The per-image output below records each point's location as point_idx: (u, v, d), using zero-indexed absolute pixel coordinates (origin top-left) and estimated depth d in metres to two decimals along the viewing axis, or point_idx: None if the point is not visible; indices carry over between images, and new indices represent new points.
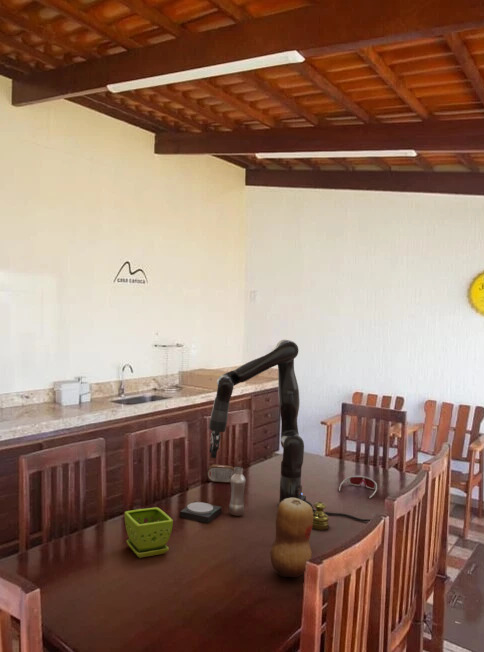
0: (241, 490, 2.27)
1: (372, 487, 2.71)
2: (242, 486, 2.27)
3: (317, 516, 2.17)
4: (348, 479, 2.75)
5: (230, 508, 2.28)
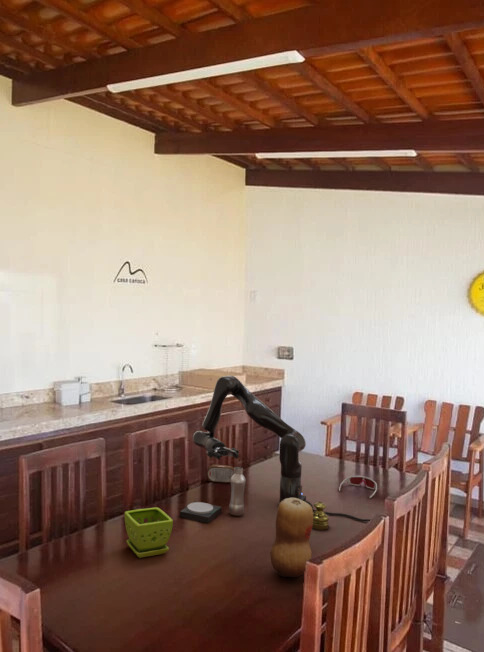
0: (241, 490, 2.27)
1: (372, 487, 2.71)
2: (242, 486, 2.27)
3: (317, 516, 2.17)
4: (348, 479, 2.75)
5: (230, 508, 2.28)
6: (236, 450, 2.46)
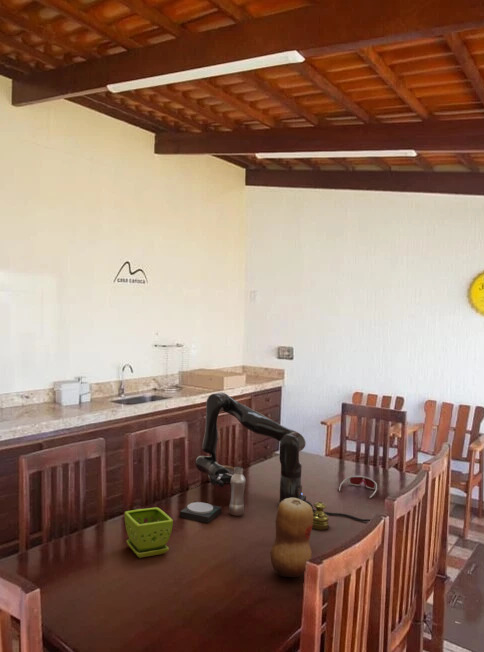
0: (241, 490, 2.27)
1: (372, 487, 2.71)
2: (242, 486, 2.27)
3: (317, 516, 2.17)
4: (348, 479, 2.75)
5: (230, 508, 2.28)
6: None
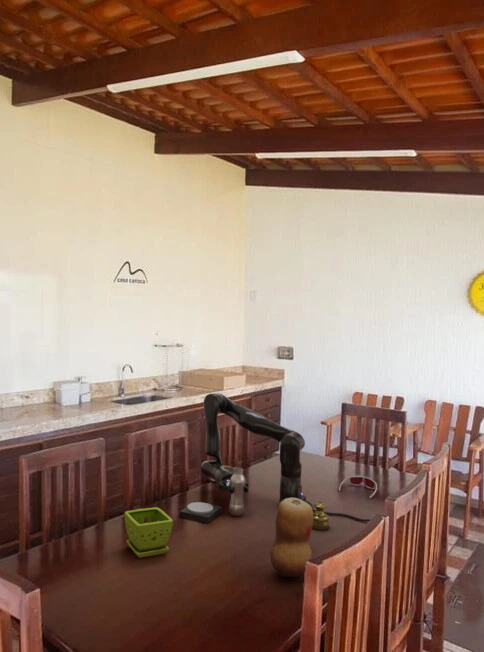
0: (241, 490, 2.27)
1: (372, 487, 2.71)
2: (242, 486, 2.27)
3: (317, 516, 2.17)
4: (348, 479, 2.75)
5: (230, 508, 2.28)
6: (246, 483, 2.34)
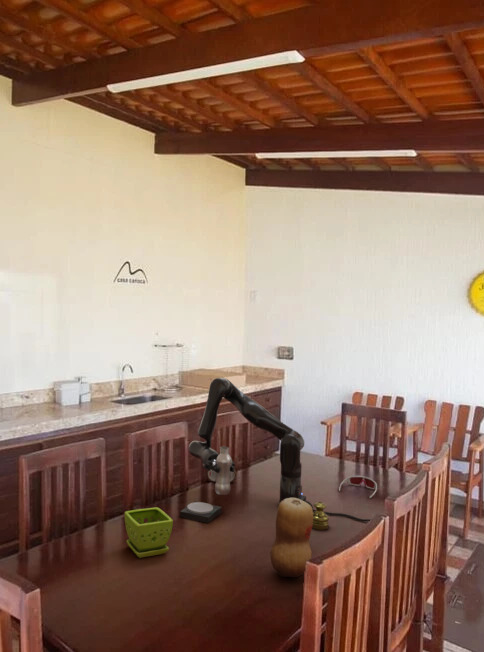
0: (227, 469, 2.26)
1: (372, 487, 2.71)
2: (228, 465, 2.26)
3: (317, 516, 2.17)
4: (348, 479, 2.75)
5: (216, 487, 2.27)
6: (232, 463, 2.33)
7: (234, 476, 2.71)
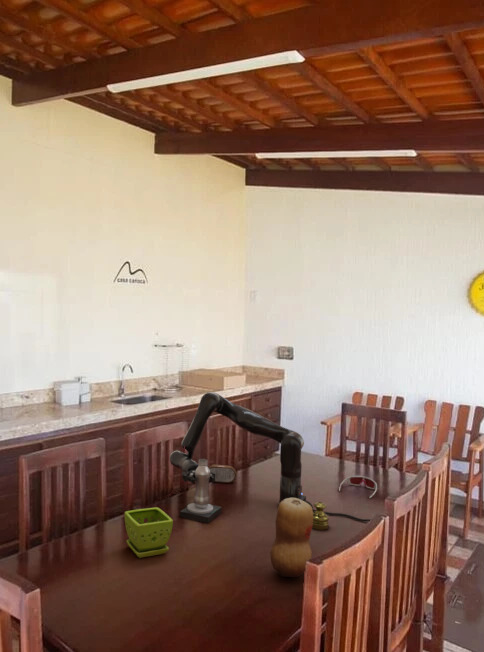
0: (205, 482, 2.25)
1: (372, 487, 2.71)
2: (207, 478, 2.25)
3: (317, 516, 2.17)
4: (348, 479, 2.75)
5: (194, 500, 2.26)
6: (213, 473, 2.33)
7: (234, 476, 2.71)
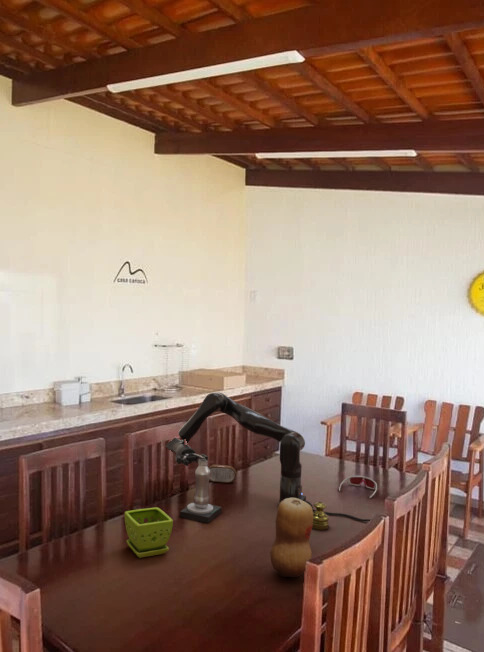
0: (205, 482, 2.25)
1: (372, 487, 2.71)
2: (207, 478, 2.25)
3: (317, 516, 2.17)
4: (348, 479, 2.75)
5: (194, 500, 2.26)
6: (205, 456, 2.45)
7: (234, 476, 2.71)
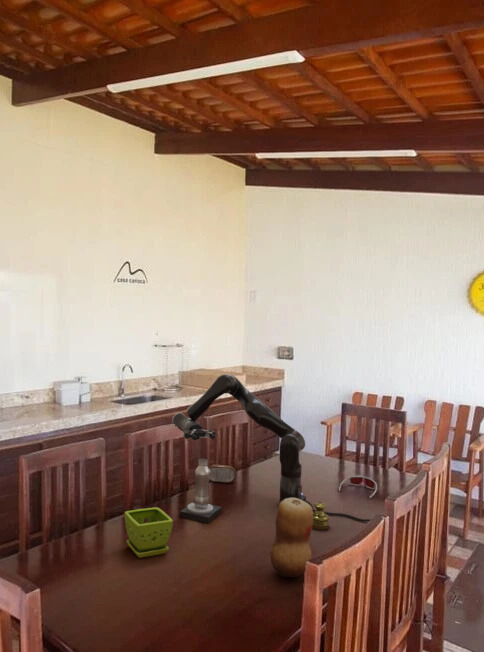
0: (205, 482, 2.25)
1: (372, 487, 2.71)
2: (207, 478, 2.25)
3: (317, 516, 2.17)
4: (348, 479, 2.75)
5: (194, 500, 2.26)
6: (213, 432, 2.46)
7: (234, 476, 2.71)
